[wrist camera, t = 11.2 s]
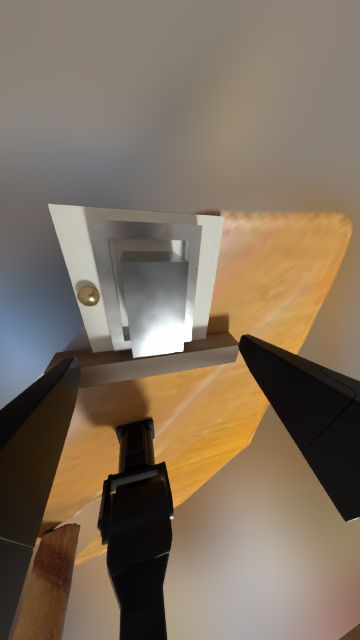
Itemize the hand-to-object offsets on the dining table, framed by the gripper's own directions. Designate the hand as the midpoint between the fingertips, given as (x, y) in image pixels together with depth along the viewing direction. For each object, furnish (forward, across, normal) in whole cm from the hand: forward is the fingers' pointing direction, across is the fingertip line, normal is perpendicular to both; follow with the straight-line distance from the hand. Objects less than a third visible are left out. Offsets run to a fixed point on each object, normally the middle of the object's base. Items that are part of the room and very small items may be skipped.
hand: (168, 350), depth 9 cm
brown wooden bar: (+10, 0, +9) cm, 13 cm away
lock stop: (+9, 0, 0) cm, 9 cm away
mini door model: (+10, 0, 0) cm, 10 cm away
